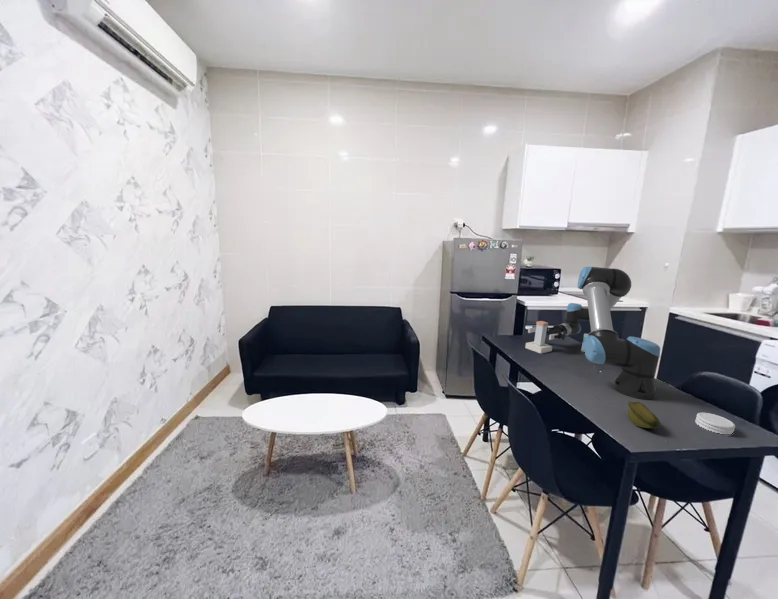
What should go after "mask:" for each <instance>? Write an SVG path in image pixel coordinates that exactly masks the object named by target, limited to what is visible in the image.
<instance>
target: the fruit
mask: <svg viewBox="0 0 778 599" xmlns="http://www.w3.org/2000/svg"><path fill="white" fill-rule="evenodd" d="M627 405H628V406H629V407H628V410H627V418H628V419H629V421H630V422H631V423H632V424H633V425H635V427H636V426H637V427H640V428H644V429H651V430H658V427H659V425H661V421H660V419H659V418H658V416H656V415H655V414H654V413H653V412H652V411H651V410H650V409H649V408H648V407H647V406H646V405H645V404H644V403H642V402H641V401H628V403H627Z"/></svg>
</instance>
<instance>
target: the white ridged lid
mask: <svg viewBox="0 0 778 599" xmlns="http://www.w3.org/2000/svg"><path fill="white" fill-rule="evenodd" d="M694 422H695V424H696V425H697V426H698V425H699V426H698V427H700V428H701V427H702V429H703V428H704V429H703V430H705V429H706V431H708V430H709V432H710V431H712V432H711V433H713V432H715V433H714V434H716V433H720V434H732V433H733V432H734V431H735V428H736V425H735V423H734V422H733V421H731V420H729V419H727V418H725V417H723V416H720V415H717V414H714V413H709V412H698V413H697V414H696V417H695V420H694ZM720 434H719V435H720ZM733 434H734V433H733ZM733 434H732V435H733Z"/></svg>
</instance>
